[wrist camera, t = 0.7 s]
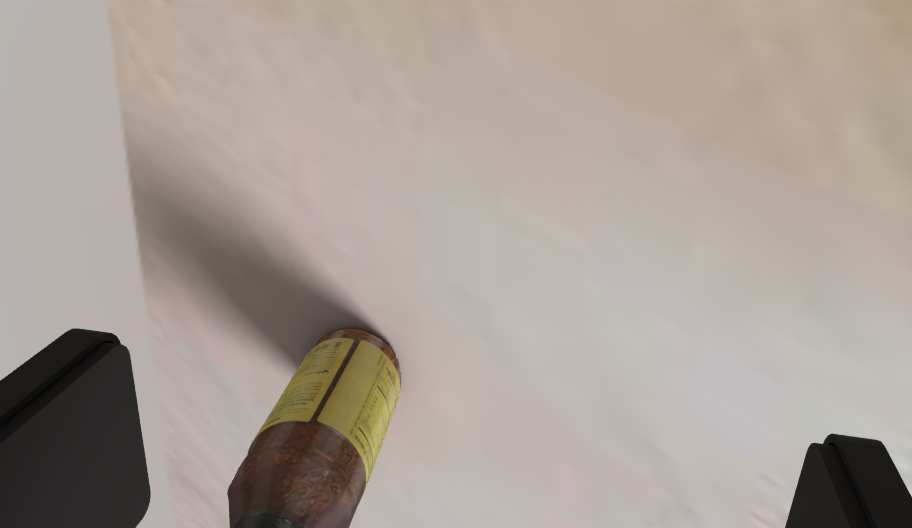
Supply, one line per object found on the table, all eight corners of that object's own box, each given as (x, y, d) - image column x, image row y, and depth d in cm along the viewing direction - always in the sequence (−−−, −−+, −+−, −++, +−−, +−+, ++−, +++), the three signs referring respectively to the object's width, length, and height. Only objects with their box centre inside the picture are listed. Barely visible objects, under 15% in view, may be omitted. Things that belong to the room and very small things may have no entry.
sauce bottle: (303, 393, 50) (136, 648, 32) (320, 310, 47) (147, 537, 29) (400, 423, 49) (286, 699, 31) (421, 341, 47) (311, 590, 29)
